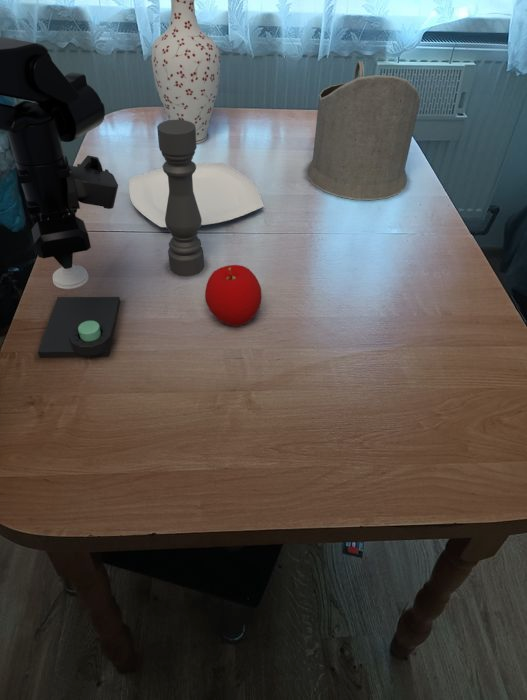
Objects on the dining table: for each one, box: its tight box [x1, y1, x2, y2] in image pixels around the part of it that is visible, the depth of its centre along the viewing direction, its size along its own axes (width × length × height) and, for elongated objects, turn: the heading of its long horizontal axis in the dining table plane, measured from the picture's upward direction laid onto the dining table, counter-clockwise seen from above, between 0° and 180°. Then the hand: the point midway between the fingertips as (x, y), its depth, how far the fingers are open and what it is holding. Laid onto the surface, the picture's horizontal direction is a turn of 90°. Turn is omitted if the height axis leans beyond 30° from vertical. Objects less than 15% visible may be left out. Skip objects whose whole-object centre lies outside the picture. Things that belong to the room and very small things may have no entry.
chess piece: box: [52, 262, 89, 290], centre depth 74 cm, size 5×5×10 cm
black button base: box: [37, 296, 121, 359], centre depth 83 cm, size 14×10×3 cm
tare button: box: [78, 321, 101, 341], centre depth 79 cm, size 3×3×2 cm
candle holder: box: [156, 119, 205, 277], centre depth 89 cm, size 6×6×25 cm
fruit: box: [204, 264, 263, 327], centre depth 84 cm, size 9×9×10 cm
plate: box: [128, 162, 264, 229], centre depth 115 cm, size 27×27×2 cm
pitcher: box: [306, 60, 421, 201], centre depth 121 cm, size 23×32×25 cm
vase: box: [150, 0, 221, 145], centre depth 127 cm, size 16×16×35 cm
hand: (67, 263), depth 76 cm, fingers closed on chess piece
